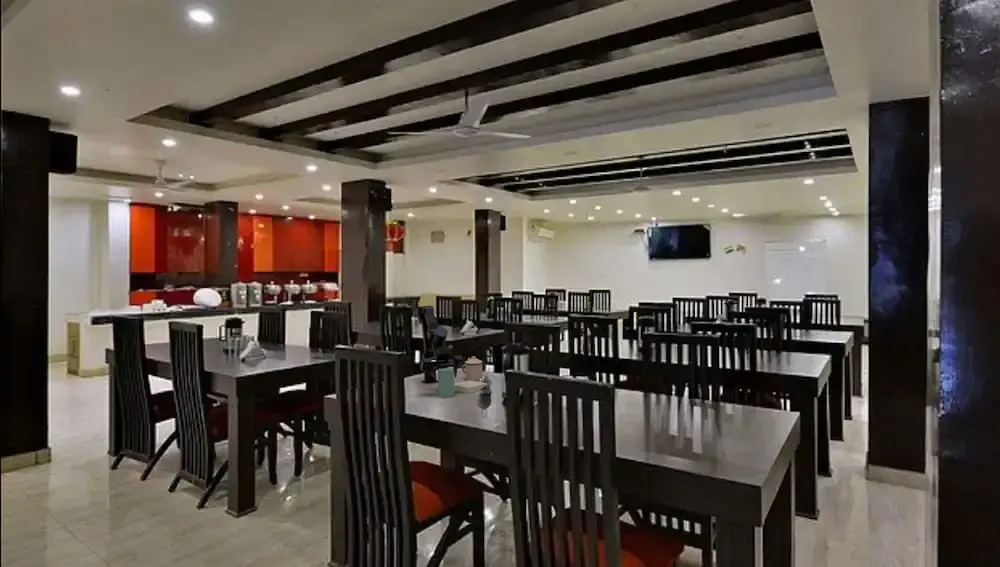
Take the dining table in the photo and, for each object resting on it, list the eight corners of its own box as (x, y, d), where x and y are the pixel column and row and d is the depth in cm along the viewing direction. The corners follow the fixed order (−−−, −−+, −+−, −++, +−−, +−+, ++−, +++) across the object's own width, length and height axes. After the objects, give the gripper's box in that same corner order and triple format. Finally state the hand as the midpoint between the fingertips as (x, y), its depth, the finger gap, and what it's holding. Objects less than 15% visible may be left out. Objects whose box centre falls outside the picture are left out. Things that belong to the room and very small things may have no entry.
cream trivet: (450, 389, 278) (450, 384, 278) (469, 385, 287) (469, 380, 286) (468, 393, 270) (468, 387, 270) (487, 388, 278) (487, 383, 278)
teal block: (438, 395, 267) (437, 368, 267) (451, 394, 269) (450, 367, 269) (441, 397, 262) (440, 370, 262) (454, 396, 264) (453, 369, 264)
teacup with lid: (486, 378, 301) (486, 356, 301) (476, 382, 294) (475, 358, 293) (467, 376, 308) (467, 354, 307) (456, 379, 300) (456, 357, 300)
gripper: (421, 340, 267) (427, 369, 257) (461, 338, 273) (469, 365, 263) (418, 355, 275) (424, 383, 265) (457, 352, 281) (464, 380, 271)
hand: (445, 378), depth 266 cm, fingers open, 9 cm apart
